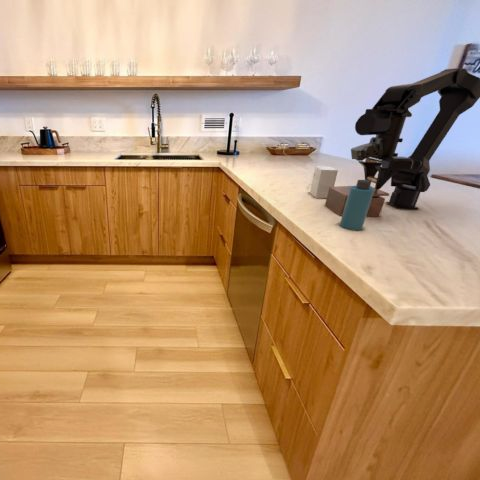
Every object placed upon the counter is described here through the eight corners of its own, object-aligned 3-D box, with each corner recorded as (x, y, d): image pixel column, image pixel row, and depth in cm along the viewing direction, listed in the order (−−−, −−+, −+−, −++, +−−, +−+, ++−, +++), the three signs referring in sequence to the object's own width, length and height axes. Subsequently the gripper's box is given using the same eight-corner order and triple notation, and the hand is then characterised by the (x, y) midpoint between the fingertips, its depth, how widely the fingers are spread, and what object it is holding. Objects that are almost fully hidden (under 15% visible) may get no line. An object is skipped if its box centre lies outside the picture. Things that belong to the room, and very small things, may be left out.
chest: (359, 206, 98) (364, 189, 96) (379, 216, 88) (385, 198, 86) (324, 205, 99) (328, 188, 96) (340, 215, 89) (345, 197, 87)
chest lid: (367, 187, 95) (371, 173, 93) (389, 195, 86) (393, 181, 84) (329, 188, 96) (331, 175, 94) (345, 197, 87) (348, 182, 85)
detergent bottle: (353, 222, 83) (366, 178, 78) (366, 230, 78) (382, 183, 73) (335, 223, 83) (347, 178, 78) (348, 230, 78) (362, 183, 73)
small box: (331, 198, 106) (338, 170, 101) (314, 198, 107) (321, 169, 102) (324, 193, 113) (331, 166, 109) (309, 192, 114) (315, 165, 110)
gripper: (343, 132, 92) (331, 180, 99) (379, 137, 75) (362, 194, 82) (379, 131, 92) (364, 180, 98) (424, 137, 75) (403, 195, 81)
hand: (372, 186), depth 90 cm, fingers closed on chest lid, 5 cm apart
